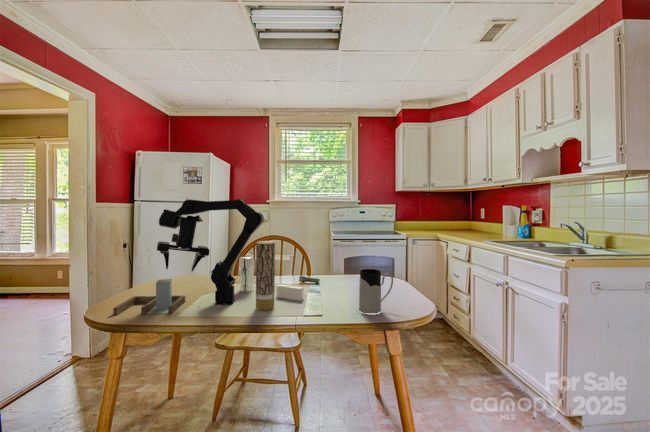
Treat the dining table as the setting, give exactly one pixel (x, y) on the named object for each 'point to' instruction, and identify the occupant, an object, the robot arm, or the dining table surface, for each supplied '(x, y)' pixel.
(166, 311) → the comb rack
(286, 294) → the white rectangular block
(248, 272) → the white streaked block
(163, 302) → the tall grey square prism
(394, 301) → the dining table surface
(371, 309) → the grey mug
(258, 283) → the bark textured cylinder
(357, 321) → the dining table surface
